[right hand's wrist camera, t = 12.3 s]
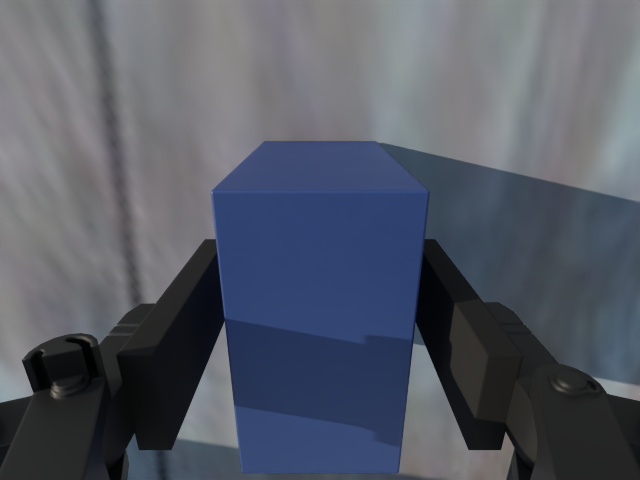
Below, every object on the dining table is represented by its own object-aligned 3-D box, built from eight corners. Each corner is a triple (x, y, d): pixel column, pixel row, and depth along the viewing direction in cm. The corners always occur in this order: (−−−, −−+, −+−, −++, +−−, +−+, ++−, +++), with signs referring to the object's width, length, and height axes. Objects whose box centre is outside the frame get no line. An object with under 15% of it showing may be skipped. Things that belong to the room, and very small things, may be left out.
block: (263, 141, 16) (209, 190, 8) (376, 141, 16) (430, 190, 8) (272, 318, 19) (241, 474, 12) (366, 317, 19) (399, 474, 12)
